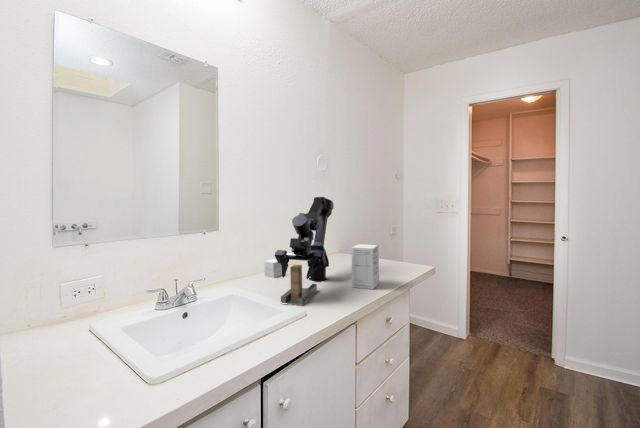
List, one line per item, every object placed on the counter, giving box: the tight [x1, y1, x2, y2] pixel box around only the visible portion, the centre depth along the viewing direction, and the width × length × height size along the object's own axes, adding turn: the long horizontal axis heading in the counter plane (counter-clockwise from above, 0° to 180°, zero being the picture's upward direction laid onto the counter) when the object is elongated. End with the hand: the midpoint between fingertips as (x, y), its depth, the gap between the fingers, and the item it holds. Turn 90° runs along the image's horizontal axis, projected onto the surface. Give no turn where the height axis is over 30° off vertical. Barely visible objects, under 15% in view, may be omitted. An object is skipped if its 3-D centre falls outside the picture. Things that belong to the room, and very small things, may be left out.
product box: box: [264, 258, 282, 279], centre depth 150 cm, size 6×6×7 cm
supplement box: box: [351, 243, 380, 290], centre depth 131 cm, size 10×9×17 cm
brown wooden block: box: [290, 264, 303, 301], centre depth 114 cm, size 4×3×12 cm, turn 165°
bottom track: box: [280, 283, 318, 306], centre depth 118 cm, size 18×8×3 cm, turn 165°
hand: (294, 277), depth 113 cm, fingers open, 9 cm apart
